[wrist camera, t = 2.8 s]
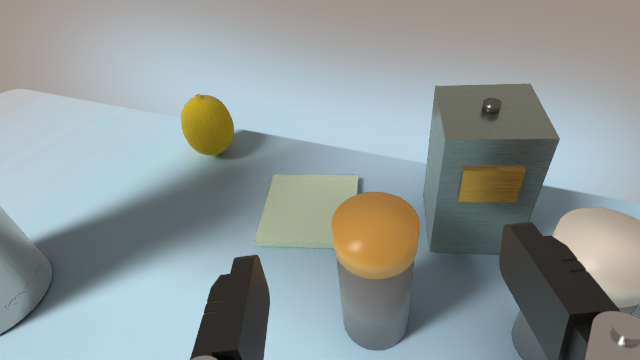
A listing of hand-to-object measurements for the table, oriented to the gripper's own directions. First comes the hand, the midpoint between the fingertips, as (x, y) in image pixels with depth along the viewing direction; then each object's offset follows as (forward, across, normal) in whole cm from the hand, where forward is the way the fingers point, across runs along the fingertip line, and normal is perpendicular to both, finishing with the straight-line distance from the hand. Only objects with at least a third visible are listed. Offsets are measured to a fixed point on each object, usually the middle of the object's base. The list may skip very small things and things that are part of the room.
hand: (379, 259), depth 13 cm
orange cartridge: (+10, 0, +16) cm, 19 cm away
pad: (+22, +5, +14) cm, 26 cm away
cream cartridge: (+8, -12, +17) cm, 22 cm away
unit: (+19, -10, +15) cm, 26 cm away
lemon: (+33, +16, +11) cm, 38 cm away
